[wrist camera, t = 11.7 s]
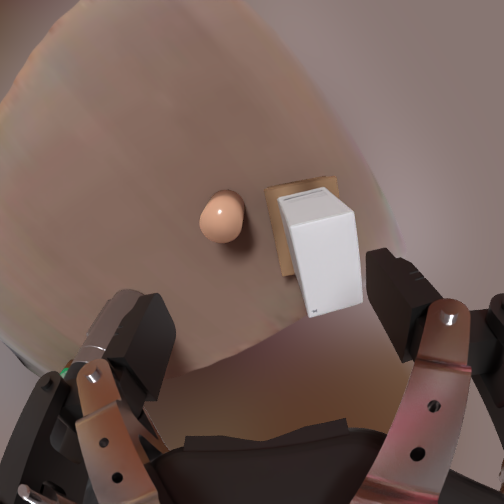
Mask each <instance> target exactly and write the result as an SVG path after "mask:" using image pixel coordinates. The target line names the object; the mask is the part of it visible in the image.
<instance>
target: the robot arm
mask: <svg viewBox="0 0 504 504" xmlns="http://www.w3.org/2000/svg"><path fill="white" fill-rule="evenodd" d="M366 289H367V295H368V299H369V301H370V303H371V305H372V307H373V309H374V311H375V312H376V314H377V316H378V318H379V320H380V321H381V323H382V325H383V327H384V329H385V331H386V333H387V334H388V336H389V338H390V340H391V342H392V344H393V346H394V348H395V350H396V352H397V354H398V356H399V358H400V360H401V362H402V363H404V362H407V361H410V360H413V361H414V366H413V369H412V372H411V375H410V378H409V381H408V385H407V387H406V390H405V393H404V395H403V398H402V401H401V404H400V406H399V409H398V411H397V414H396V416H395V419H394V421H393V423H392V426H391V428H390V430H389V432H388V435H387V434H385V433H382V432H378V431H375V430H371V429H365V428H348V426H347V422H346V418H343V419H339V420H335V421H330V422H326V423H321V424H316V425H311V426H306V427H303V428H300V429H298V430H295V431H292V432H290V433H287V434H284V435H282V436H279V437H276V438H273V439H270V440H267V441H261V442H260V441H252V440H245V439H239V438H232V437H227V436H186V437H185V443H184V447H180V448H177V449H173V450H171V451H170V450H169V449H168V448H167V446H166V445H165V443H164V442H163V440H162V438H161V436H160V435H159V433H158V431H157V429H156V428H155V426H154V424H153V422H152V420H151V418H150V416H149V415H148V412H147V411H146V410H145V408H144V407H143V405H144V402H145V401H157V399H158V395H159V392H160V388H161V385H162V381H163V378H164V375H165V371H166V368H167V364H168V361H169V358H170V354H171V351H172V348H173V344H174V341H175V338H176V329H175V325H174V322H173V320H172V318H171V316H170V314H169V312H168V310H167V308H166V305H165V303H164V301H163V299H162V297H161V295H160V294H158V293H154V294H148V295H143V294H141V293H139V292H137V291H133V290H122V291H120V292H118V293H116V294H115V295H114V297H113V298H112V300H108V301H107V303H106V304H105V306H104V307H103V309H102V310H101V312H100V313H99V315H98V316H97V318H96V319H95V321H94V322H93V324H92V325H91V327H90V329H89V330H88V332H87V338H86V340H85V341H84V343H83V345H82V346H81V348H80V350H79V352H78V353H77V355H76V357H75V358H74V360H73V362H72V364H71V365H70V367H69V369H68V371H67V373H66V374H65V376H64V378H62V376H61V375H60V374H59V373H58V372H56V371H51V372H48V373H46V374H45V375H43V376H42V377H41V378H40V379H39V380H38V382H37V383H36V385H35V388H34V389H33V391H32V393H31V395H30V397H29V399H28V401H27V403H26V405H25V407H24V409H23V411H22V413H21V415H20V417H19V419H18V422H17V424H16V426H15V428H14V431H13V433H12V435H11V438H10V440H9V442H8V445H7V447H6V450H5V452H4V455H3V458H2V460H1V463H0V504H504V459H503V462H502V466H501V472H500V473H499V480H500V482H502V484H501V489H500V491H497V490H495V489H492V488H490V487H488V486H485V485H483V484H481V483H478V482H476V481H474V480H472V479H470V478H468V477H465V476H463V475H462V474H459V473H457V472H455V471H453V470H451V469H450V465H451V462H452V459H453V456H454V453H455V450H456V446H457V443H458V439H459V435H460V431H461V427H462V423H463V419H464V414H465V409H466V404H467V398H468V393H469V386H470V380H471V377H472V379H473V381H474V383H475V385H476V387H477V389H478V391H479V393H480V395H481V397H482V399H483V401H484V404H485V405H486V408H487V410H488V412H489V415H490V417H491V419H492V422H493V424H494V426H495V429H496V431H497V434H498V436H499V438H500V441H501V444H502V447H503V449H504V293H502V294H497V295H495V296H494V297H493V298H492V299H491V302H490V305H489V309H483V310H473V311H469V309H468V308H467V306H466V305H465V304H463V303H462V302H460V301H458V300H455V299H450V298H443V297H442V296H441V295H440V294H439V293H438V292H437V290H436V289H435V288H434V287H433V286H432V285H431V284H430V282H429V281H428V280H427V279H426V278H424V276H423V275H422V274H421V273H420V272H419V271H418V269H417V268H416V267H415V266H414V265H413V264H412V263H411V262H409V261H407V260H405V259H403V258H401V257H400V258H395V257H394V256H393V254H392V253H391V252H390V251H389V250H388V249H387V248H381V249H377V250H372V251H368V252H367V253H366Z"/></svg>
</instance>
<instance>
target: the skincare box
mask: <svg viewBox="0 0 504 504" xmlns="http://www.w3.org/2000/svg"><path fill="white" fill-rule="evenodd" d="M277 201H278V205H279V210H280V214H281V218H282V222H283V226H284V231H285V235H286V239H287V243H288V247H289V251H290V255H291V260H292V264H293V268H294V272H295V275H296V278H297V280H298V283H299V286H300V289H301V293H302V296H303V299H304V303H305V307H306V311H307V314H308V317H309V318H311V317H315V316H319V315H323V314H326V313H330V312H333V311H337V310H341V309H344V308H348V307H351V306H354V305H357V304H360V303H362V302H363V295H362V280H361V268H360V257H359V247H358V238H357V230H356V222H355V215H354V211H352V210H351V209H350V208H349V207H348V206H346V205H345V204H344V203H343V202H342V201H341V200H339V199H338V198H337V197H336V196H335V195H333V194H332V193H331V192H330V191H329V190H328V189H326V188H325V187H321V188H317V189H313V190H309V191H305V192H300V193H296V194H291V195H287V196H282V197H279V198H278V199H277Z"/></svg>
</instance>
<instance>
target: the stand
mask: <svg viewBox="0 0 504 504" xmlns="http://www.w3.org/2000/svg"><path fill="white" fill-rule="evenodd" d="M321 187H325V188H326V189H328V190H329V191H330V192H331V193H332V194H333V195H335V196H336V197H337V198H338V199H339V191H338V184H337V177H335V176H331V177H326V176H322V177H317V178H311V179H306V180H301V181H295V182H290V183H285V184H280V185H275V186H271V187H268V189H264V193H265V197H266V202H267V206H268V211H269V215H270V220H271V225H272V229H273V234H274V239H275V243H276V248H277V253H278V257H279V262H280V267H281V272H282V277H283V276H288V275H293V274H295V272H294V268H293V264H292V260H291V255H290V251H289V247H288V243H287V239H286V235H285V231H284V226H283V222H282V218H281V214H280V210H279V205H278V201H277V199H278V198H279V197H282V196H287V195H291V194H296V193H300V192H305V191H309V190H313V189H317V188H321ZM339 200H340V199H339Z"/></svg>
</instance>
